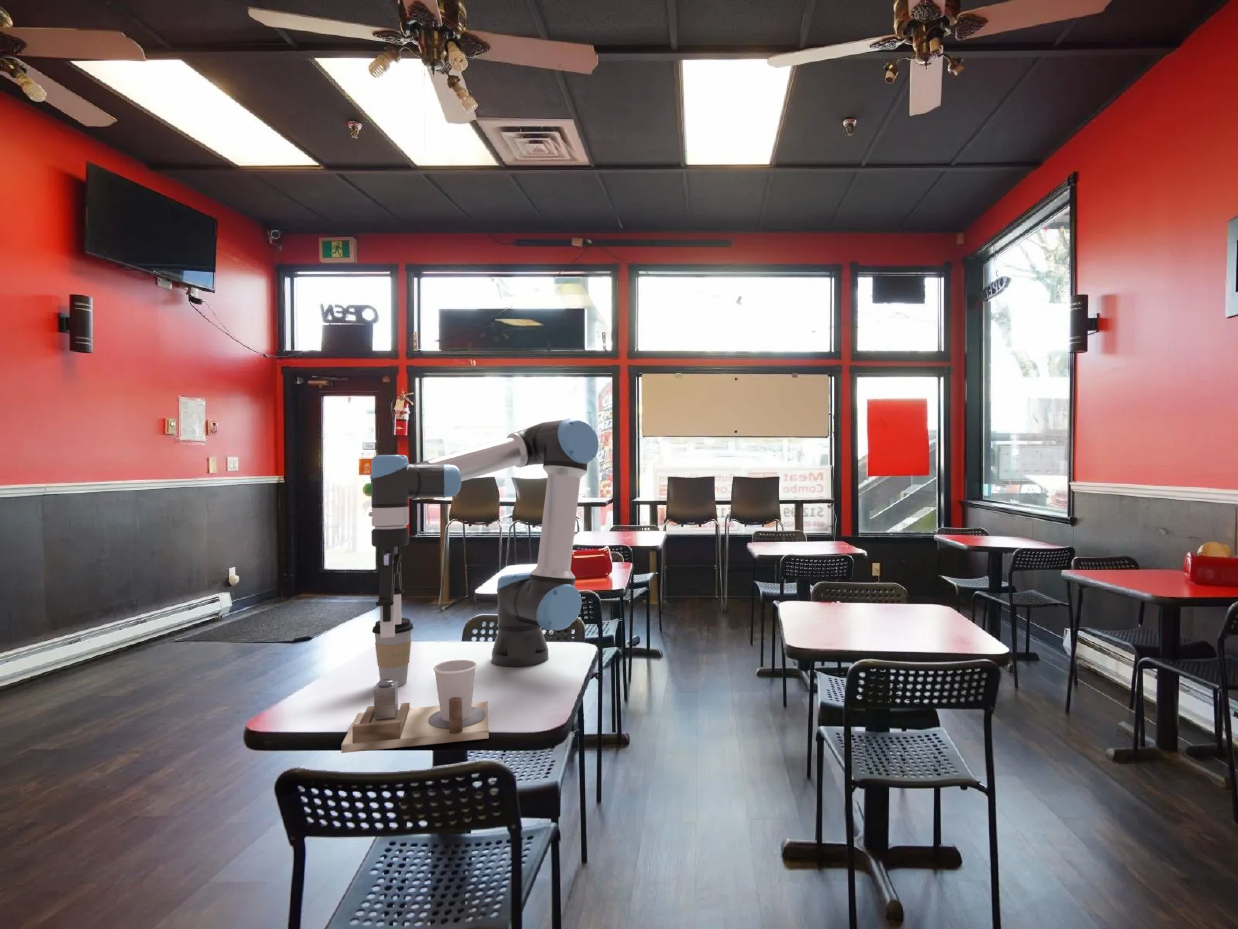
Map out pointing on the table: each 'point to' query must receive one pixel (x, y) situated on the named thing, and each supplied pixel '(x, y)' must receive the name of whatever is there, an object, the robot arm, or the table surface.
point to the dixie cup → (455, 685)
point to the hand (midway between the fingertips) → (391, 630)
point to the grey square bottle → (386, 699)
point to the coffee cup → (394, 652)
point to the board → (416, 727)
